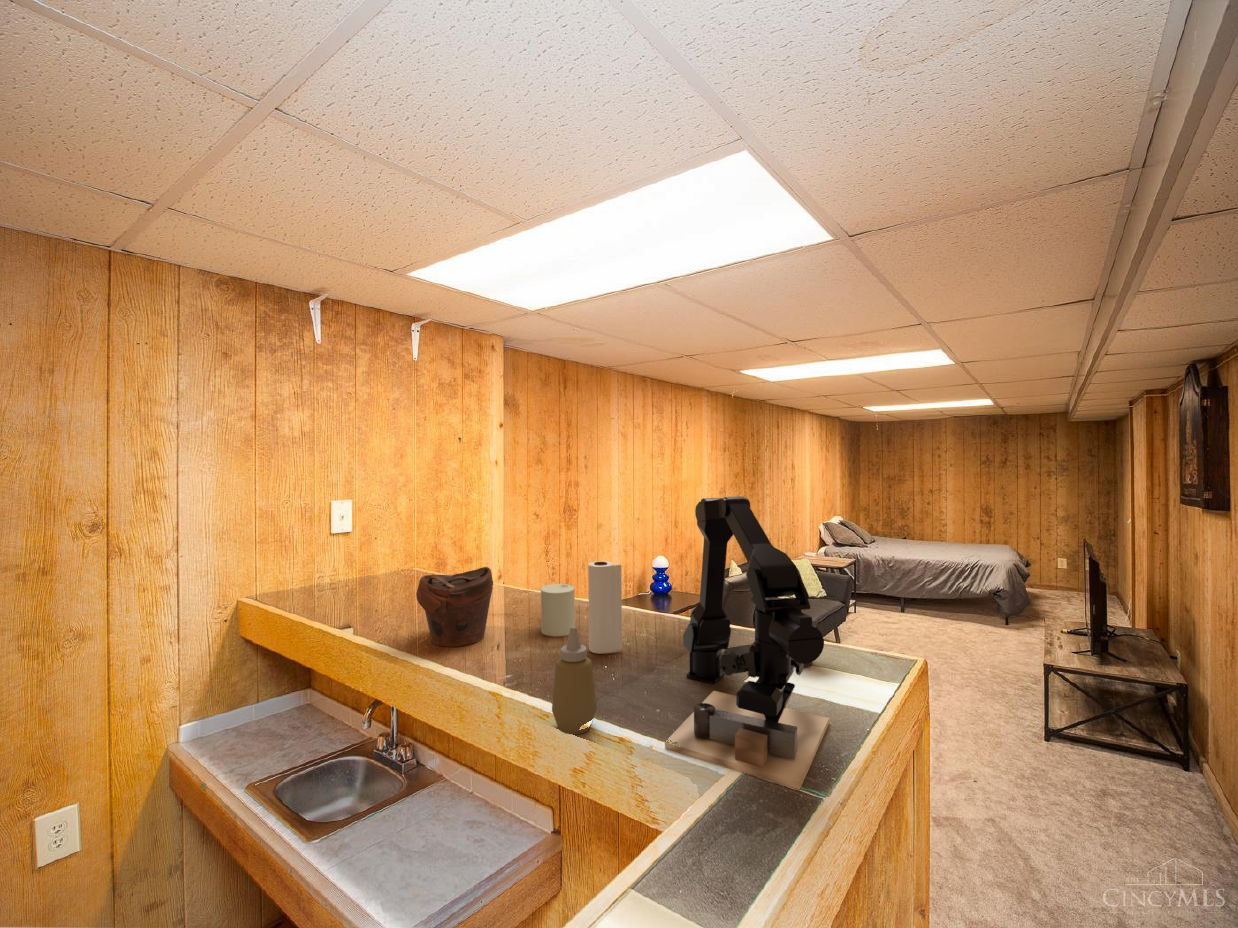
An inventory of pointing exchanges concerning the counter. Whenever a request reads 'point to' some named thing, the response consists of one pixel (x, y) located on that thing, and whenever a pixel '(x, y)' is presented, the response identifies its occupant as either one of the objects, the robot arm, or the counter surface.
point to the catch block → (751, 747)
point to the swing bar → (727, 725)
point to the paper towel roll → (605, 607)
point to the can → (557, 609)
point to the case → (456, 606)
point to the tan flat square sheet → (775, 766)
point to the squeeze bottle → (573, 687)
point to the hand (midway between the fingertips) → (771, 729)
